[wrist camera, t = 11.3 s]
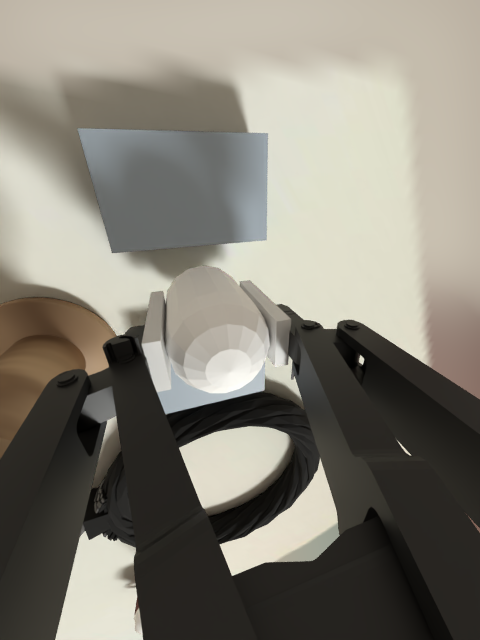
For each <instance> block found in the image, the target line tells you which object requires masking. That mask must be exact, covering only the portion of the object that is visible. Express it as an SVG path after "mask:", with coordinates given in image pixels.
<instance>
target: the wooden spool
mask: <svg viewBox="0 0 480 640" xmlns="http://www.w3.org/2000/svg"><path fill="white" fill-rule="evenodd" d="M113 337H116V334H115V333H114V331H113V330H112V329H111V327H110V326H109V325H108V324H107V323H106V322H105V321H104V320H103V319H101V318H100V317H99V316H97V315H96V314H94V313H93V312H91V311H89V310H88V309H86V308H83V307H81V306H79V305H76V304H74V303H71V302H67V301H63V300H59V299H53V298H42V297H32V298H22V299H16V300H12V301H9V302H5V303H3V304H1V305H0V459H1V457H2V456H3V454H4V452H5V451H6V449H7V448H8V446H9V444H10V443H11V441H12V440H13V438H14V436H15V435H16V433H17V432H18V430H19V428H20V427H21V425H22V423H23V422H24V420H25V419H26V417H27V415H28V414H29V412H30V411H31V409H32V407H33V406H34V404H35V403H36V401H37V399H38V398H39V396H40V395H41V393H42V391H43V390H44V388H45V387H46V385H47V384H48V382H49V381H50V380H51V379H53V378H54V377H56V376H57V375H58V374H60V373H63V372H65V371H69V370H73V369H82V370H85V371H86V372H87V374H88V376H89V375H92V374H94V373H97V372H100V371H102V370H104V369H106V368H108V367H109V364H108V362H107V359H106V356H105V353H104V351H103V348H102V347H103V344H104V343H105V342H106V341H108V340H109V339H111V338H113Z"/></svg>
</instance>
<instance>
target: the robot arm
mask: <svg viewBox="0 0 480 640" xmlns="http://www.w3.org/2000/svg"><path fill="white" fill-rule="evenodd" d="M240 287H241V288H242V290H243V291H244V292H245V293H246V294H247V295H248V297H249V298H250V299H251V300H252V301H253V302H254V304H255V305H256V306H257V308H258V310H259V311H260V313H261V314H262V316H263V317H264V319H265V322H266V325H267V328H268V334H269V343H270V346H269V349H268V352H267V356H268V358H269V359H270V361H271V362H272V364H273V365H274V367H278V366H283V365H288V357H289V356H290V357H291V359H292V360H293V362H292V375H291V380H292V379H294V376H295V378H296V382H297V385H298V388H299V391H300V394H301V398H302V401H303V404H304V407H305V410H306V414H307V417H308V420H309V423H310V426H311V430H312V433H313V436H314V439H315V442H316V446H317V449H318V452H319V455H320V458H321V461H322V465H323V468H324V471H325V474H326V477H327V481H328V484H329V487H330V490H331V493H332V497H333V500H334V503H335V507H336V510H337V516H338V529H339V535H340V536H339V537H338V538H337V539H336V540H335V541H334V542H333V543H332V544H331V545H330V546H329V547H328V548H327V549H326V550H325V551H324V552H323V553H322V554H321V555H320V556H319V557H318V558H317V559H315V560H313V561H305V562H269V563H263V564H261V565H258V566H256V567H254V568H251V569H249V570H246V571H244V572H241V573H239V574H236V575H234V576H232V575H231V573H230V570H229V568H228V565H227V563H226V560H225V558H224V555H223V553H222V550H221V548H220V545H219V543H218V540H217V538H216V535H215V533H214V530H213V527H212V525H211V523H210V520H209V518H208V516H207V514H206V512H205V510H204V509H203V508H202V506H201V504H200V501H199V499H198V496H197V494H196V491H195V489H194V486H193V483H192V481H191V478H190V476H189V473H188V471H187V468H186V466H185V463H184V460H183V458H182V455H181V453H180V450H179V448H178V445H177V442H176V440H175V437H174V435H173V432H172V430H171V427H170V425H169V422H168V419H167V417H166V414H165V412H164V409H163V407H162V404H161V401H160V399H159V396H158V394H157V392H161V391H166V390H170V389H171V361H170V359H169V356H168V353H167V351H166V348H165V318H166V304H165V299H164V294H163V291H159V292H151V296H150V301H149V306H148V312H147V317H146V323H145V325H143V326H137V327H131V328H130V329H129V330H128V331H127V332H126V333H125V335H119V336H116V337H113V338H111V339H109V340H108V341H106V342H105V343H104V344H103V347H102V348H103V351H104V353H105V356H106V359H107V362H108V364H109V367H108V368H106V369H104V370H102V371H100V372H97V373H94V374H92V375H89V376H88V374H87V372H86V371H85V370H82V369H73V370H69V371H65V372H63V373H60V374H58V375H57V376H56V377H54V378H53V379H51V380H50V381H49V382H48V384H47V385H46V387H45V388H44V390H43V391H42V393H41V395H40V396H39V398H38V399H37V401H36V403H35V404H34V406H33V407H32V409H31V411H30V412H29V414H28V415H27V417H26V419H25V420H24V422H23V423H22V425H21V427H20V428H19V430H18V432H17V433H16V435H15V436H14V438H13V440H12V441H11V443H10V444H9V446H8V448H7V449H6V451H5V452H4V454H3V456H2V457H1V459H0V640H55V638H56V634H57V629H58V625H59V621H60V617H61V613H62V608H63V604H64V600H65V596H66V592H67V588H68V583H69V579H70V575H71V571H72V567H73V562H74V558H75V554H76V550H77V546H78V542H79V537H80V533H81V529H82V525H83V521H84V516H85V512H86V508H87V504H88V500H89V496H90V491H91V487H92V483H93V479H94V475H95V470H96V466H97V462H98V458H99V454H100V450H101V445H102V441H103V437H104V433H105V429H106V424H107V420H109V419H111V418H113V417H115V416H116V417H117V424H118V430H119V437H120V443H121V450H122V457H123V463H124V470H125V476H126V483H127V489H128V496H129V503H130V509H131V516H132V522H133V529H134V536H135V543H136V554H135V556H134V572H135V582H136V589H137V597H138V604H139V611H140V619H141V626H142V633H143V640H480V533H479V531H478V530H477V528H476V527H475V526H474V524H473V523H472V522H471V520H470V519H469V517H470V518H471V519H472V520H473V521H474V523H475V524H476V525H477V526H478V527H479V528H480V399H478V398H476V397H475V396H473V395H472V394H470V393H469V392H467V391H466V390H464V389H463V388H461V387H460V386H458V385H456V384H455V383H453V382H452V381H450V380H449V379H447V378H446V377H444V376H443V375H441V374H439V373H438V372H436V371H435V370H433V369H432V368H430V367H429V366H427V365H425V364H424V363H422V362H421V361H419V360H418V359H416V358H415V357H413V356H412V355H410V354H408V353H407V352H405V351H404V350H402V349H401V348H399V347H398V346H396V345H395V344H393V343H391V342H390V341H388V340H387V339H385V338H384V337H382V336H381V335H379V334H377V333H376V332H374V331H373V330H371V329H370V328H368V327H367V326H365V325H364V324H362V323H360V322H356V321H354V320H343V321H340V322H339V323H338V325H337V329H324V328H323V327H322V326H321V325H320V324H319V323H317V322H315V321H310V320H303V319H302V318H301V317H300V316H298V315H297V314H296V313H295V312H294V311H292V310H291V309H290V308H289V307H288V306H285V305H283V304H279V305H276V304H275V303H274V302H272V301H271V300H270V299H269V298H268V297H267V296H266V295H265V294H264V293H263V292H262V291H261V290H260V289H259V288H257V287H256V286H255V285H254V284H253V283H252V282H251V281H250V280H249V281H241V282H240ZM360 355H361V356H362V357H363V358H364V359H365V360H364V363H363V365H362V364H361V363H359V358H360ZM396 439H397V440H398V441H399V442H400V443H401V444H402V446H403V447H404V448H405V449H406V450H407V451H408V452H409V453H410V454H411V455H412V456H410V455H408V454H406V453H405V451H404V450H403V449H402V448H401V446H400V444H399V443H398V441H397V440H396ZM466 514H467V515H468V516H469V517H468V516H467V515H466Z"/></svg>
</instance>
